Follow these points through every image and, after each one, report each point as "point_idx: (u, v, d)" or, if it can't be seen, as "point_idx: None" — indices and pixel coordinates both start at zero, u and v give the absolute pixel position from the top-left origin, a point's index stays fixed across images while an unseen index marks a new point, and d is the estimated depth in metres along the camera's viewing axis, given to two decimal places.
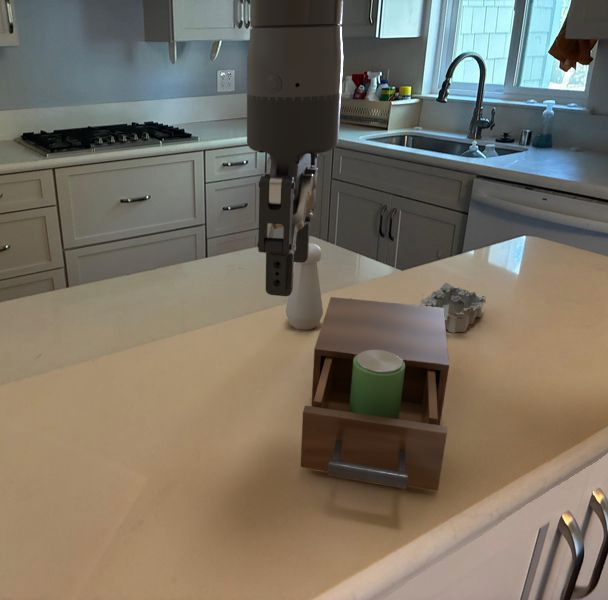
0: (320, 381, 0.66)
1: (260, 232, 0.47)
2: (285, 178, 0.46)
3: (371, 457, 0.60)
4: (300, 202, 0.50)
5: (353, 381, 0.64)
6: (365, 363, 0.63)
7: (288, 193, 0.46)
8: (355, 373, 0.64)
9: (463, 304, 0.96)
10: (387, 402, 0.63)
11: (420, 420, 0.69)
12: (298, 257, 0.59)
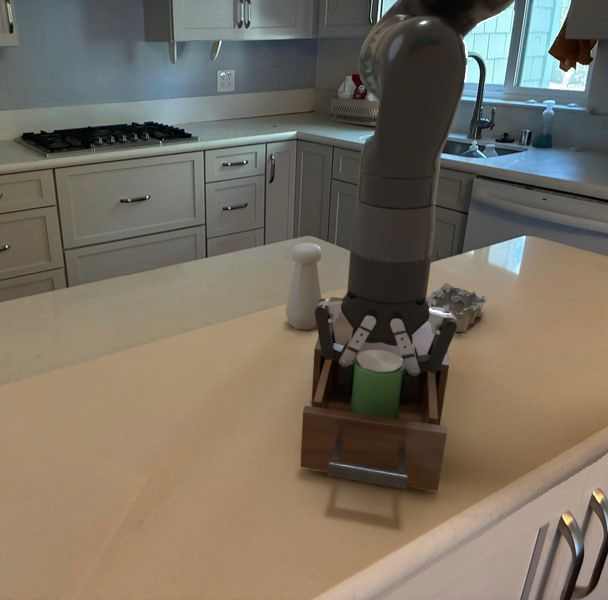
0: (320, 381, 0.66)
1: None
2: (318, 306, 0.63)
3: (371, 457, 0.60)
4: (355, 332, 0.62)
5: (353, 381, 0.64)
6: (365, 363, 0.63)
7: None
8: (355, 373, 0.64)
9: (463, 304, 0.96)
10: (387, 402, 0.63)
11: (420, 420, 0.69)
12: None
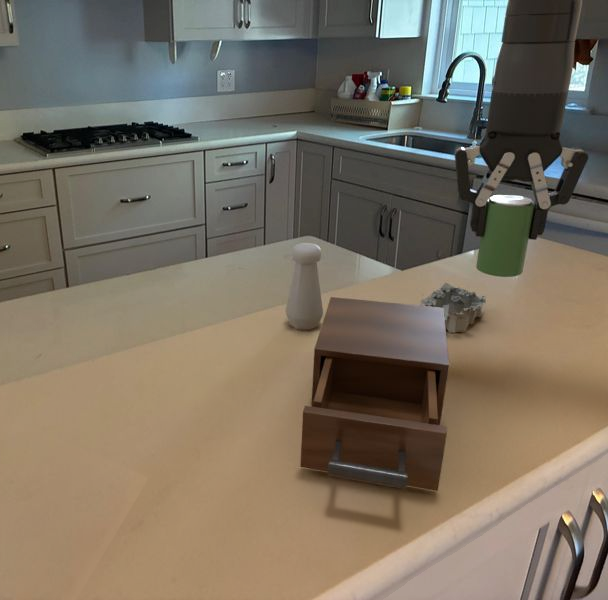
0: (320, 381, 0.66)
1: (457, 182, 0.74)
2: (458, 150, 0.71)
3: (371, 457, 0.60)
4: (493, 171, 0.70)
5: (487, 220, 0.73)
6: (499, 201, 0.71)
7: (456, 160, 0.71)
8: (490, 211, 0.72)
9: (463, 304, 0.96)
10: (520, 235, 0.71)
11: (420, 420, 0.69)
12: (529, 234, 0.73)
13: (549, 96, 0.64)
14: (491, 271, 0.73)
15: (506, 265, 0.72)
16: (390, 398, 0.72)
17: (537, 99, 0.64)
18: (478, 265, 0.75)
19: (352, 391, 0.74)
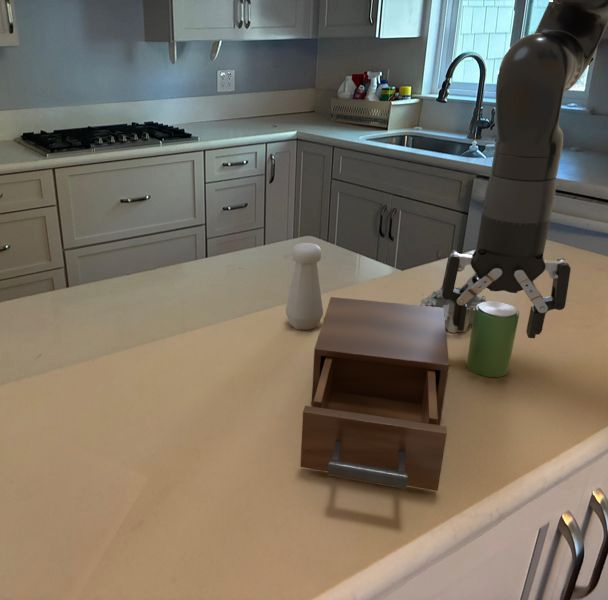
0: (320, 381, 0.66)
1: (443, 280, 0.81)
2: (453, 255, 0.78)
3: (371, 457, 0.60)
4: (479, 279, 0.77)
5: (475, 325, 0.80)
6: (487, 310, 0.79)
7: (448, 263, 0.78)
8: (478, 319, 0.79)
9: None
10: (505, 341, 0.78)
11: (420, 420, 0.69)
12: (528, 332, 0.79)
13: (532, 225, 0.71)
14: (479, 371, 0.81)
15: (493, 367, 0.80)
16: (390, 398, 0.72)
17: (522, 228, 0.71)
18: (468, 363, 0.83)
19: (352, 391, 0.74)
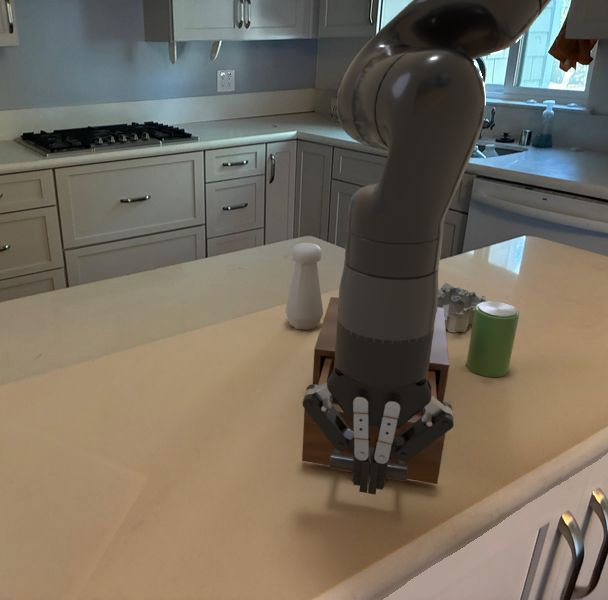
0: (321, 376, 0.67)
1: None
2: (304, 397, 0.54)
3: None
4: (353, 419, 0.52)
5: (475, 325, 0.80)
6: (487, 310, 0.79)
7: (307, 410, 0.54)
8: (478, 319, 0.79)
9: (463, 304, 0.96)
10: (505, 341, 0.78)
11: (420, 415, 0.70)
12: None
13: (402, 344, 0.46)
14: (479, 371, 0.81)
15: (493, 367, 0.80)
16: None
17: (386, 347, 0.46)
18: (468, 363, 0.83)
19: None
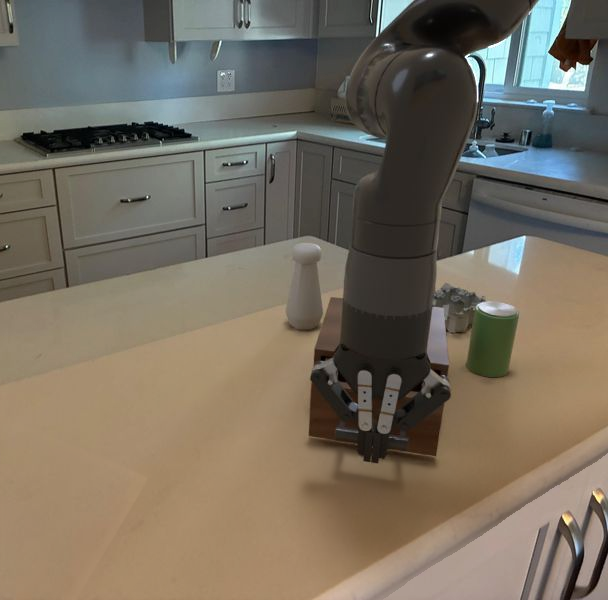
0: (327, 357, 0.71)
1: None
2: (312, 372, 0.57)
3: (374, 425, 0.65)
4: (358, 392, 0.56)
5: (475, 325, 0.80)
6: (487, 310, 0.79)
7: None
8: (478, 319, 0.79)
9: (463, 304, 0.96)
10: (505, 341, 0.78)
11: None
12: None
13: (403, 319, 0.50)
14: (479, 371, 0.81)
15: (493, 367, 0.80)
16: None
17: (388, 322, 0.50)
18: (468, 363, 0.83)
19: None
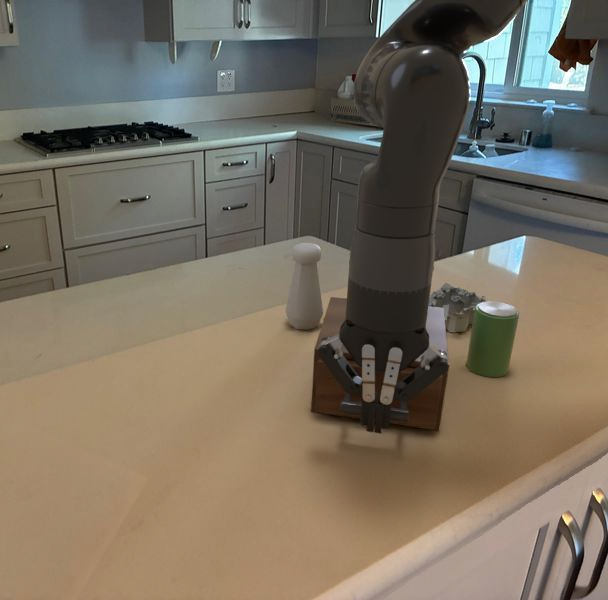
0: None
1: None
2: (319, 347, 0.62)
3: None
4: (362, 365, 0.60)
5: (475, 325, 0.80)
6: (487, 310, 0.79)
7: (321, 358, 0.62)
8: (478, 319, 0.79)
9: (463, 304, 0.96)
10: (505, 341, 0.78)
11: None
12: None
13: (404, 295, 0.54)
14: (479, 371, 0.81)
15: (493, 367, 0.80)
16: None
17: (390, 297, 0.55)
18: (468, 363, 0.83)
19: None
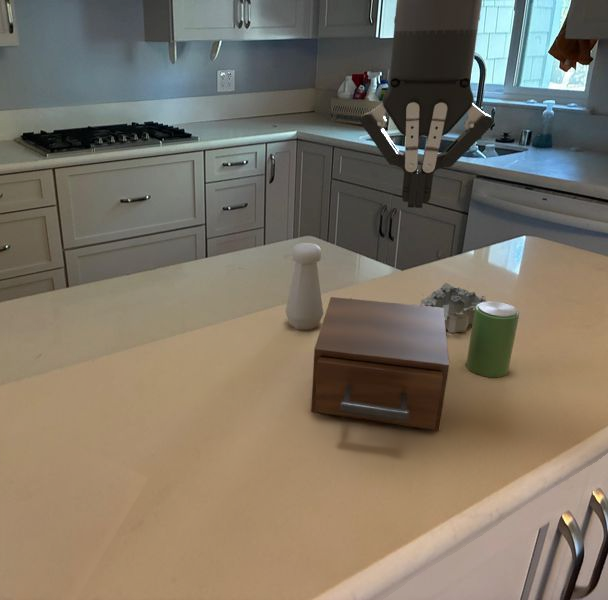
0: None
1: None
2: (362, 117, 0.62)
3: (377, 400, 0.70)
4: (405, 129, 0.61)
5: (475, 325, 0.80)
6: (487, 310, 0.79)
7: None
8: (478, 319, 0.79)
9: (463, 304, 0.96)
10: (505, 341, 0.78)
11: None
12: (415, 202, 0.64)
13: (452, 33, 0.55)
14: (479, 371, 0.81)
15: (493, 367, 0.80)
16: None
17: (438, 37, 0.55)
18: (468, 363, 0.83)
19: None
